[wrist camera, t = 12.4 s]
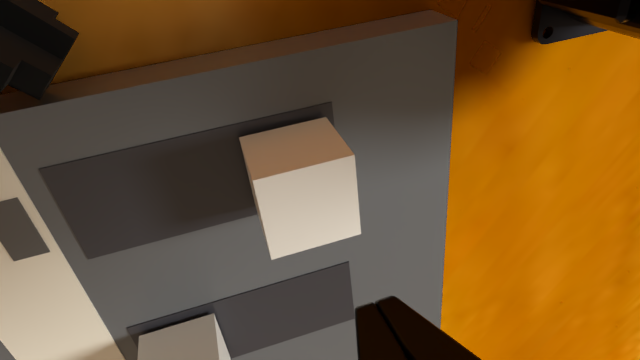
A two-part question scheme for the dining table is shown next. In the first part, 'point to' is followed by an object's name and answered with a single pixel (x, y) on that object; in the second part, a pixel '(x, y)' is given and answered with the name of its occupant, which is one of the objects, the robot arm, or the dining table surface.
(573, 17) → the robot arm
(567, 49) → the dining table surface
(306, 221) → the tab
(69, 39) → the security camera
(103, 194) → the switch bank
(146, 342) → the tab
